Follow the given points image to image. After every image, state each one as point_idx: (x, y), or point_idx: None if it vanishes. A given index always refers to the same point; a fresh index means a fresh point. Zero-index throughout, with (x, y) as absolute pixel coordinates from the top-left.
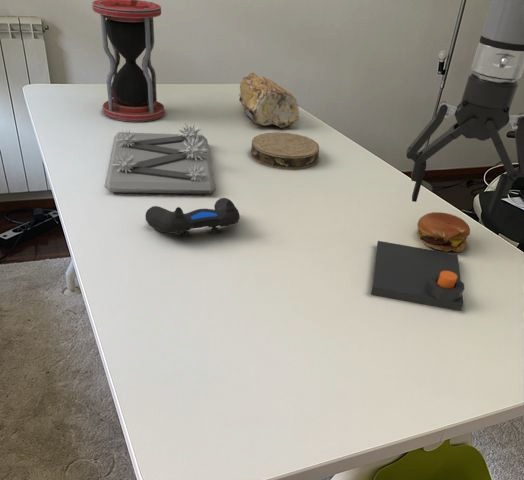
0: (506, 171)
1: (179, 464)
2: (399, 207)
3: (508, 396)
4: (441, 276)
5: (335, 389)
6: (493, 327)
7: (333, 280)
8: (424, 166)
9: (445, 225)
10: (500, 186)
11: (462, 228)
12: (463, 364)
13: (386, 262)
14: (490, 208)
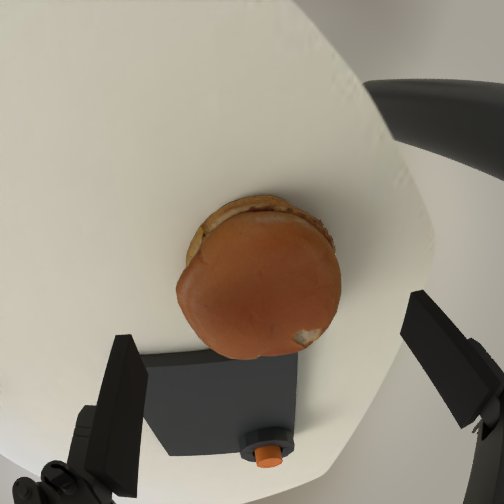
0: (477, 447)
1: None
2: (98, 82)
3: (317, 475)
4: (258, 466)
5: (191, 499)
6: (326, 437)
7: None
8: (129, 495)
9: (263, 347)
10: (448, 407)
11: (315, 327)
12: (285, 472)
13: (163, 419)
14: (410, 328)
